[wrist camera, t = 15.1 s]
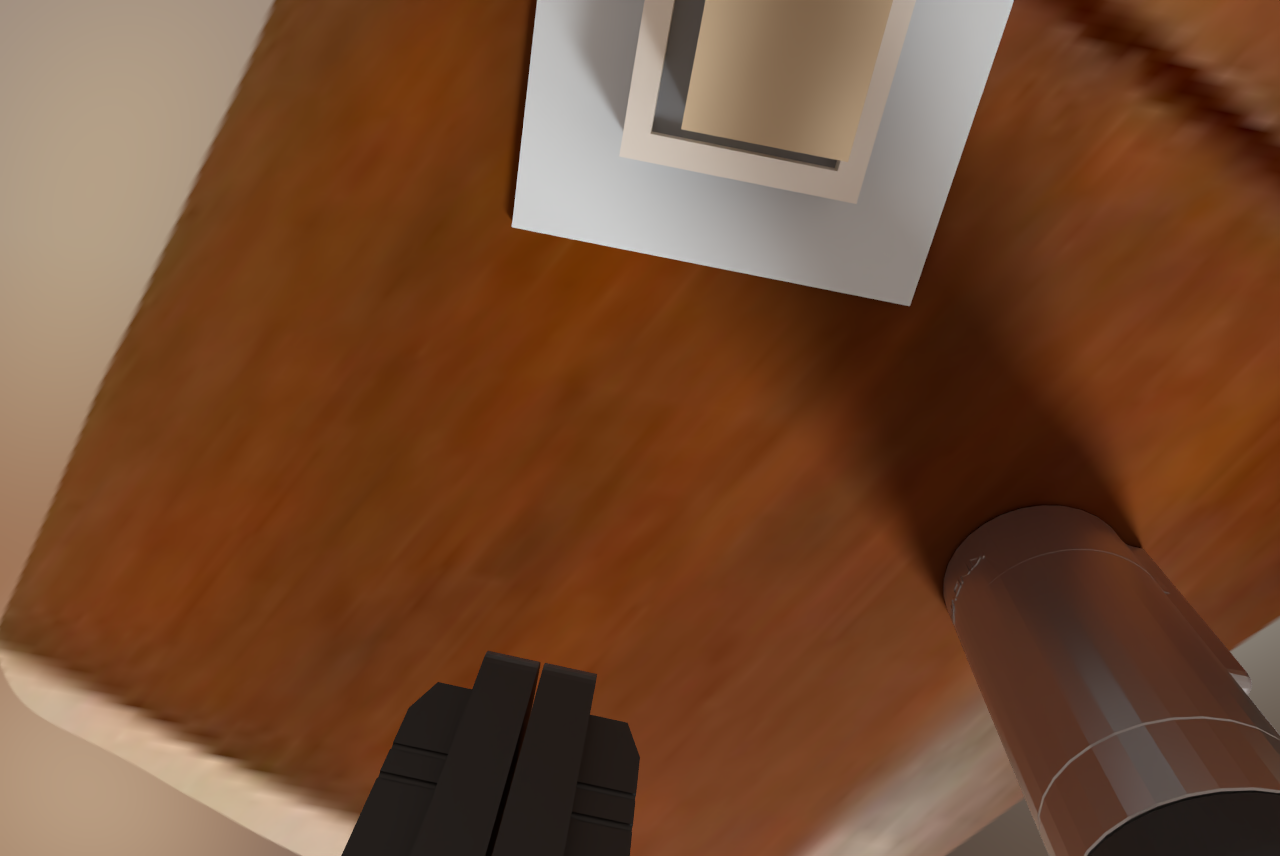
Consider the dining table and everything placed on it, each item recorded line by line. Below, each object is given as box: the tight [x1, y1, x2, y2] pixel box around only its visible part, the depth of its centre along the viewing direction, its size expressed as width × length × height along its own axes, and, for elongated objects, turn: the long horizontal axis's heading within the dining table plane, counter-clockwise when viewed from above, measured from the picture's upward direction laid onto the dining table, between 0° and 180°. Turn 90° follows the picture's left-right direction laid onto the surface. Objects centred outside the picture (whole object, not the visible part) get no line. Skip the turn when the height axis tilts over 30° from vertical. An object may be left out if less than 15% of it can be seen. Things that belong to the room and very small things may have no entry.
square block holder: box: [512, 0, 1014, 306], centre depth 31 cm, size 18×18×5 cm
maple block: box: [681, 0, 893, 162], centre depth 26 cm, size 5×5×7 cm
